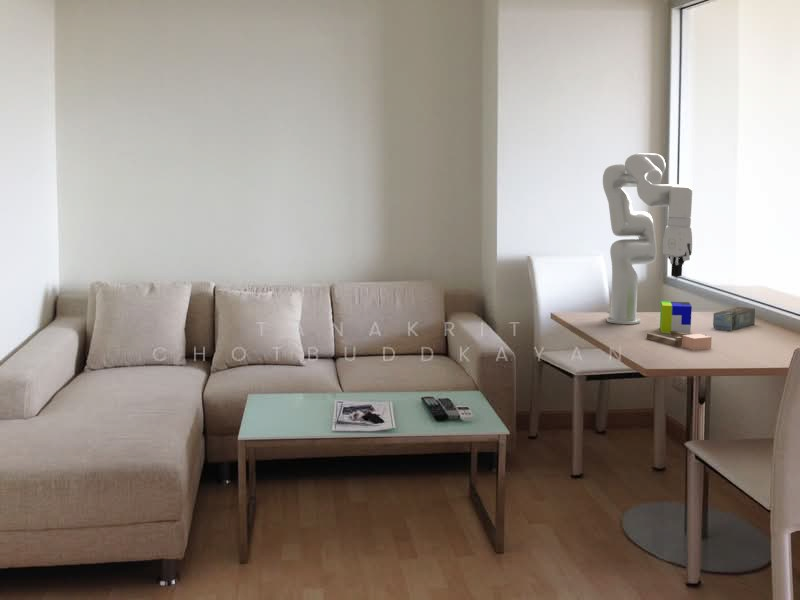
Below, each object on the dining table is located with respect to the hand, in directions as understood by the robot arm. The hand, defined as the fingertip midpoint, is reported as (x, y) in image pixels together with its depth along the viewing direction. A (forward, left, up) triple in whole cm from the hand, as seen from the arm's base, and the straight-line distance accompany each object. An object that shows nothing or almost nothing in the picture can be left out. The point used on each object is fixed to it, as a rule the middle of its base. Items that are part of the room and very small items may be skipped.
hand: (676, 276), depth 329 cm
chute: (+1, 0, -22) cm, 22 cm away
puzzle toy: (-14, +13, -23) cm, 30 cm away
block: (+13, -1, -23) cm, 26 cm away
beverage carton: (-11, +39, -23) cm, 47 cm away
